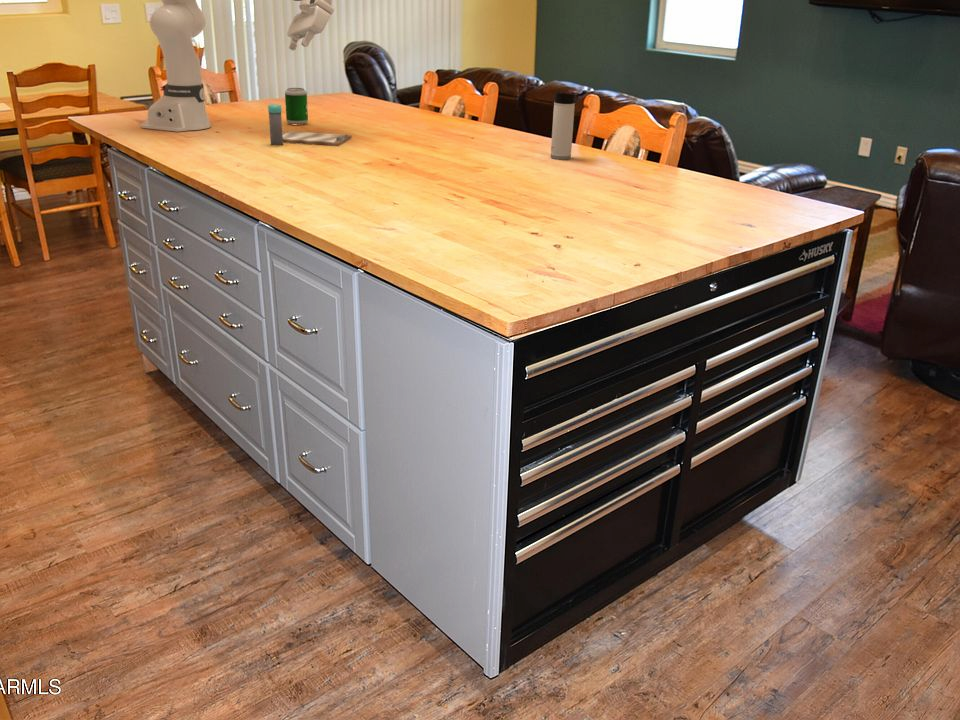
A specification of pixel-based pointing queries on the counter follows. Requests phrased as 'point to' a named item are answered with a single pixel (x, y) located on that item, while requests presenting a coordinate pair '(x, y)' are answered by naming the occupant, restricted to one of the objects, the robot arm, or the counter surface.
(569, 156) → the travel mug
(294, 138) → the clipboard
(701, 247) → the counter surface
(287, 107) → the soda can
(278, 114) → the marker
